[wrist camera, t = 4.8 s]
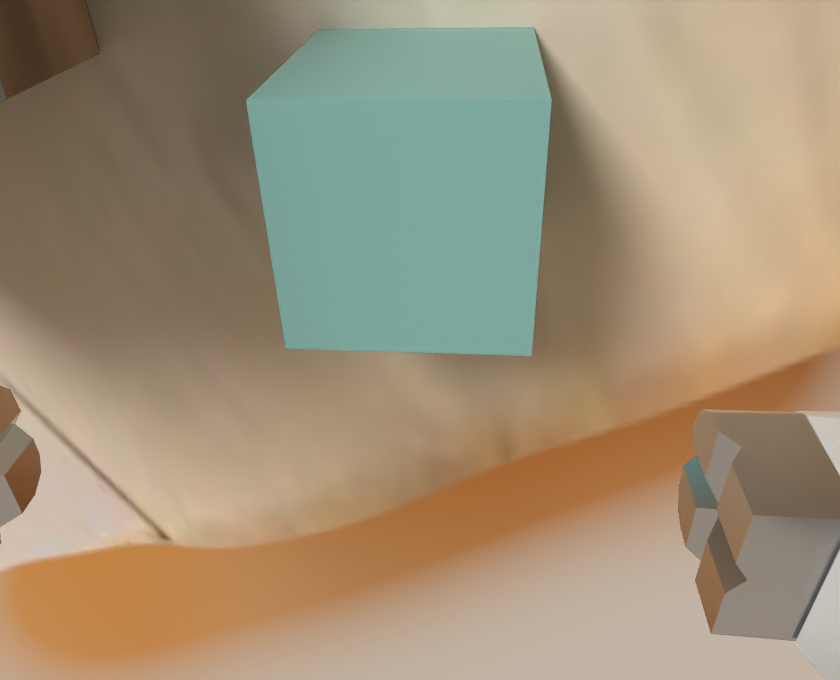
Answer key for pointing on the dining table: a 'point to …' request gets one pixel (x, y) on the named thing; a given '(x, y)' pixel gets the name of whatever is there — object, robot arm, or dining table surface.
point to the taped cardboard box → (41, 41)
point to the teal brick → (405, 188)
